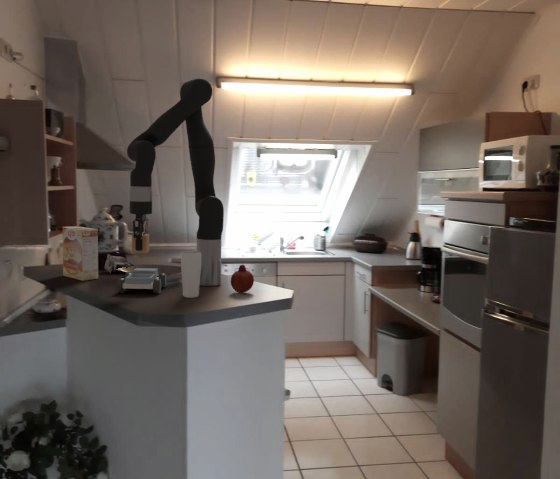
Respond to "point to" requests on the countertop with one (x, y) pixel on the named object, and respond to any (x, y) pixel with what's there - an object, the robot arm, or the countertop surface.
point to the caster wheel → (116, 263)
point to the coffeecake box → (80, 253)
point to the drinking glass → (191, 273)
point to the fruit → (242, 280)
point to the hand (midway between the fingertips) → (140, 249)
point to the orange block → (144, 244)
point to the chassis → (142, 280)
